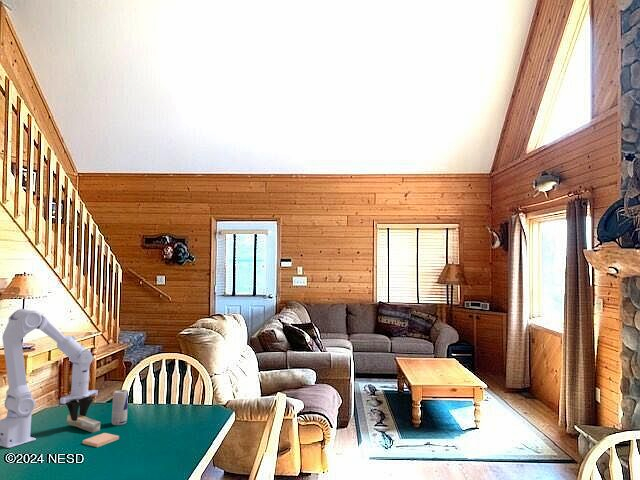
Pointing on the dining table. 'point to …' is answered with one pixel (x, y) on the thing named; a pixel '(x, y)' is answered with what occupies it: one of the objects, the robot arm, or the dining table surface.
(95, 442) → the tile
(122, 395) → the energy drink
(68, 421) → the grey and tan bar
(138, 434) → the dining table surface
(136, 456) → the dining table surface
